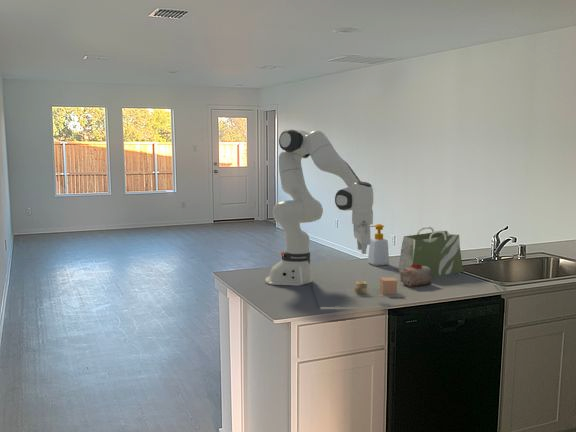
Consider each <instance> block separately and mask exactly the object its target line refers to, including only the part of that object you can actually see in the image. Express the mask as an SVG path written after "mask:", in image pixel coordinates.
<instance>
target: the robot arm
mask: <svg viewBox="0 0 576 432" xmlns="http://www.w3.org/2000/svg"><path fill="white" fill-rule="evenodd" d="M278 145H279V147H280V148H281V150H282V152H280V153H279V155H278V173H279V179H280V183H281V184H280V185H281V188H282V191H283V192H284V193H286V194H288V195H289V196H290V197H291V198H292V200H283V201H280V202H279V201H278V202H276V203H275V204H274V205H273V208H272V210H271V211H272V213H271V214H272V217H273V219H274V221H275V222H276V223H277V224H278V225H280V227H281V229H282V230H283V233H284V236H285V251H281V252H280V256H281V260H279V262H277V263H276V264H275V265H273V266H272V267H271V268H270V272H269V275H268V276H266V277H265V280H264V281H265V283H266V284H268V285H271V286H272V285H273V286H275V285H276V286H295V287H297V286H298V287H299V286H302V285H306V284H311V283H312V282H313V277H312V274H311V266H310V265H311V252H310V236H309V234H308V233H307V232H305V231H303V230H302V229H301V225H300V224H304V223H313V222H316V221H318V220H320V219H321V218H322V215H323V213H324V210H323V205H322V204H321V202H320V201H318V200H317V199H316V198H314V196H313V195H312V194H311V193H310V191H309V190H308V187H307V185H306V182H305V177H304V171H303V167H302V159H307V158H309V157H310V158H311V160H312V162H313V164H314V165H315V166H316V168H317V169H319V170H320V171H322V172H326V173H328V174H329V173H330V174H332V175H335V176H337V177H339V178H340V179H342V180H343V182H344V184H345V185H346V186H347V187H344V188H341V189H338V190H337V192H336V194H335V195H334V204H335V205H336V208H337V209H338V210H340V211H352V213H351V217H352V218H351V224H352V225H353V227H352V228H353V236H354V238H355V239H356V244H357V250H358V251H361V253H360V254H362V255H367V249H368V246H370V239H371V227H370V226H372V225H373V224H374V211H373V205H374V188H373V186H372V184H371V183H370V182H367V181H361V180H360V179H359V177H358V176H357V174H356V173H355V172H354V170H353V169H352V167H351V166H350V164H348V163H347V161H345V160H344V159H343V157H341V156H340V154H339V153H338V152H337V151H336V149H335V148H334V146H333V144H332V142H331V141H330V139H329V138H328V137H327V136H326V134H325V133H324V132H322V131H321V130H313V131H310V132H307V131H305V130H296V129H285V130H283V131H282V132H280V135H279V138H278Z"/></svg>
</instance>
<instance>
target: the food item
mask: <svg viewBox="0 0 576 432" xmlns="http://www.w3.org/2000/svg"><path fill="white" fill-rule="evenodd" d="M399 274H400V278H399V281H400V283H403V284H404V285H406V286H407V287H409V288H413V287H420V286H428V285H432V276H431V269H430V268H429V267H427V266H420V265H419V264H418V265H415V264H414V263H413V265H411V268H404V269H403V271H401V272H400V273H399Z"/></svg>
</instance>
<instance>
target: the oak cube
mask: <svg viewBox="0 0 576 432" xmlns="http://www.w3.org/2000/svg"><path fill="white" fill-rule="evenodd" d="M354 289H355V292H356V294H367V289H368V283H367V281H365V280H364V281H362V280H361V281H359V280H358V281H357V280H356V281H354Z"/></svg>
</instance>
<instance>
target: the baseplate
mask: <svg viewBox="0 0 576 432" xmlns="http://www.w3.org/2000/svg"><path fill="white" fill-rule="evenodd" d="M344 290H345V292H346V293H347V295H348V297H349V298H404V297H405V298H406V297H407V296H406V295H405V294H404V293H403V292H402V291H401V290H400V289H399V288H398V287H397V294H382V293H381V291H380V288H367V294H356V292H355V288H344Z"/></svg>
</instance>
